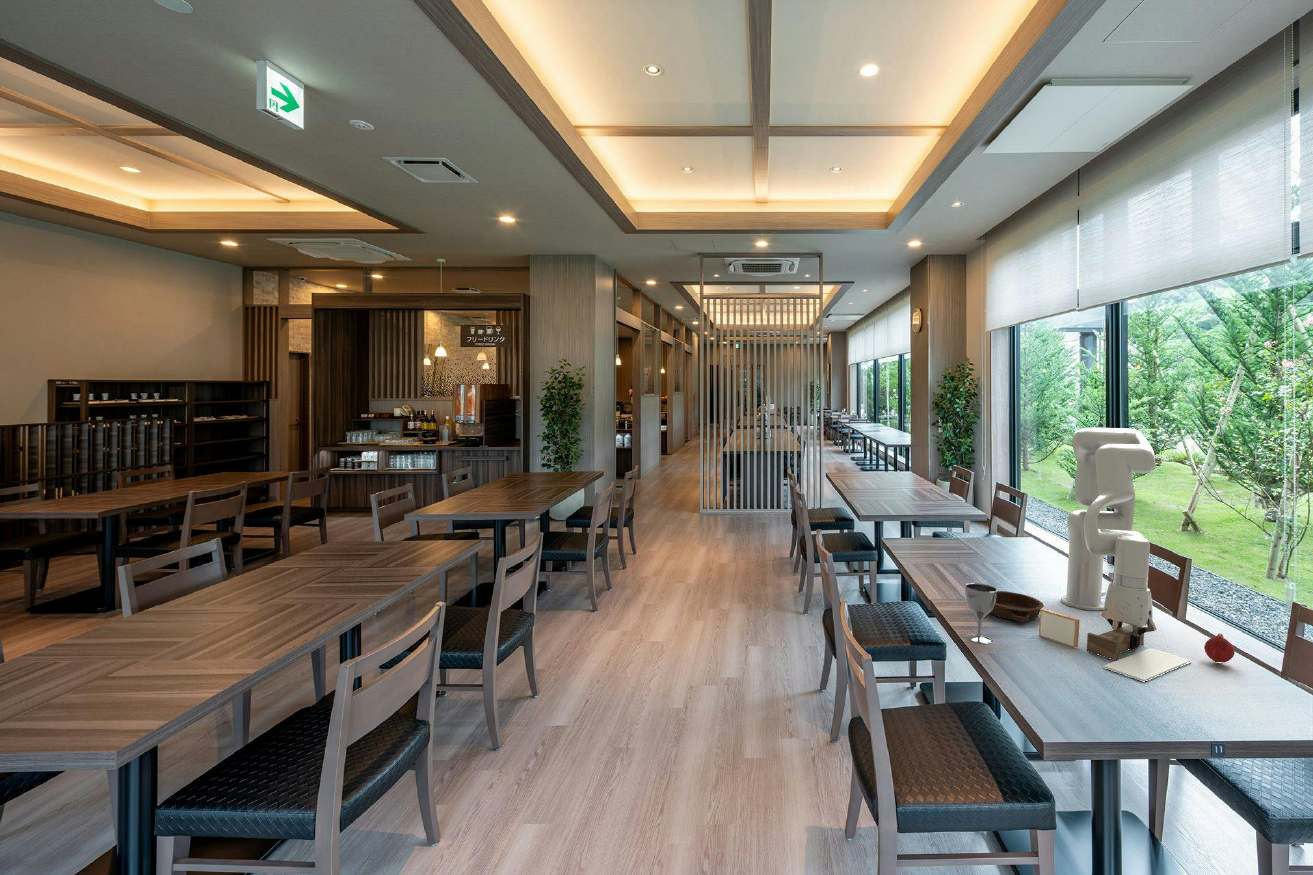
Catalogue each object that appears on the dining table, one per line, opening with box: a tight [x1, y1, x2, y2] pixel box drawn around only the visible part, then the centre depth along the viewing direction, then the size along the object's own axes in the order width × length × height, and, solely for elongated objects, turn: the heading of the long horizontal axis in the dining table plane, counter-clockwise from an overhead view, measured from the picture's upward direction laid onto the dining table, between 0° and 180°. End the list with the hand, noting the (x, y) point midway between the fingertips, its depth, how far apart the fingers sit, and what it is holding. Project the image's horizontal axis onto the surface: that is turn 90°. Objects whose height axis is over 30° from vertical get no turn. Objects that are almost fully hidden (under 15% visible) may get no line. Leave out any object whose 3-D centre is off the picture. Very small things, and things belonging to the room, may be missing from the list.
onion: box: [1203, 632, 1235, 663], centre depth 163 cm, size 6×6×8 cm
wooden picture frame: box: [1038, 607, 1081, 648], centre depth 177 cm, size 1×10×8 cm, turn 29°
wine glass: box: [964, 582, 998, 645], centre depth 178 cm, size 8×8×15 cm
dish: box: [989, 590, 1045, 623], centre depth 200 cm, size 18×22×5 cm
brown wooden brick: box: [1086, 624, 1145, 661], centre depth 172 cm, size 19×7×5 cm, turn 119°
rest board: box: [1102, 647, 1192, 681], centre depth 162 cm, size 24×9×1 cm, turn 119°
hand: (1126, 645), depth 174 cm, fingers closed on brown wooden brick, 3 cm apart
